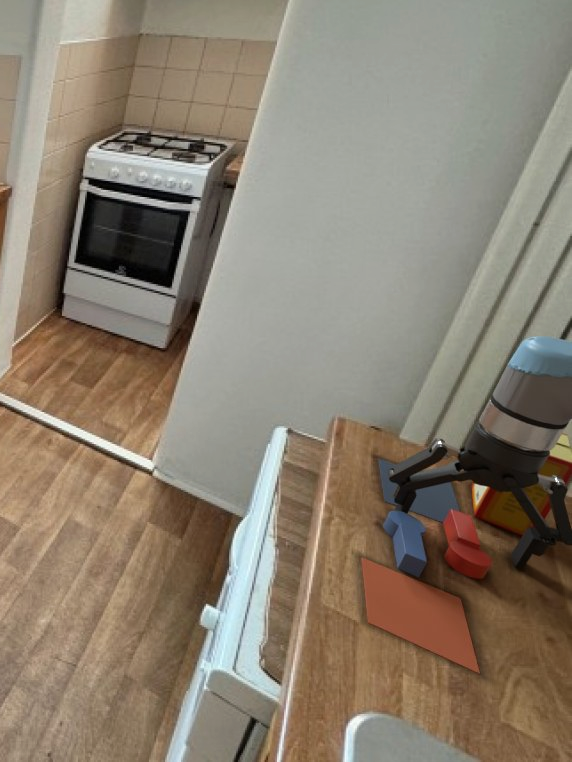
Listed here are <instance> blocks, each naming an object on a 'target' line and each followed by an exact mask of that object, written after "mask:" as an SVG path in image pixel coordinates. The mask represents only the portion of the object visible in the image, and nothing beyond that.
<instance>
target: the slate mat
mask: <svg viewBox="0 0 572 762" xmlns="http://www.w3.org/2000/svg"><path fill="white" fill-rule="evenodd" d="M377 462H378V469H379V475H380V481H381V487H382V493H383V500H384V502H385V503H388V504H390V505H393V506H395V507H397V505H398V504H397V503H395V501H394V496H393V494H394V492H395V490H396V488H397V486H398V484H396V483H393V482H391V481H390V480H389V476H388V469H389V468H390V467H392V466H394V465H396V464H397V463H393V462H390V461H387V460H384V459H381V458H377ZM415 491H416V495H417V496H416V498H415V500H414V502H413V504H412V506H411V508H410V509H409V511H408V512H412V513H413V514H417V515H420V516H423V517H425V518H427V519H431V520H434V521H436V522H439V523H442V524H443V523H444V521H445V519H446V517H447V515H448V513H449V512H450V510H451V509H453V510H456V511H458V512H461V509H460V507H459V504H458V500H457V497H456V494H455V490H454V488H453V484H452V482H448V483H444V484H440V485H435V486H431V487H426V488H422V489H418V490H415Z"/></svg>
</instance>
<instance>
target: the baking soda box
mask: <svg viewBox="0 0 572 762" xmlns="http://www.w3.org/2000/svg"><path fill="white" fill-rule="evenodd" d="M549 451H550V455H549V456H548V458H547V460H546V461H545V463H544V465H543V466H542V468H541V470H540V471H539V472H538V474H539V475H543V476H547V477H550V476H552V475H557V476H560V477H561V478H562V479H563V481H564V483H565V485H566V486H567V483H568V481H569V480H570V478H571V477H572V445H571V442H570V439H569V436H568V434H567V433H564V432H563V433H562V435H561V436H560V438H559V440H558V442H557V443H556V445H555V447H554V448H553V449H552V450H549ZM470 488H471V498H472V508H473V516H474V518H477V519H479V520H482V521H484V522H487V523H489V524H492V525H494V526H497V527H498V528H501V529H504V530H507V531H510V532H511V533H514V534H517V535H518V536H519V535H520V536H521V537H522V536H523V534H524V533H525V531H526V529H527V528H528V526H530V527H533V528H535V527H534V525H533V524H532V522H531V521H530V519H529V517H528V516H527V514H526V513H525V511H524V510H523V508H522V507H521V505H520V504H519V502H518V501H517V500H516V499H515V497H514V495H513V494H512V492H502V493H501V492H498V491H495V490H493V489H492V488H490V487H487V486H481V485H478V484H475V483H473V482H472V483H471V485H470ZM524 490H525V491H526V493H527V495H528V496H529V498H530V499H531V501H532V502H533V504H534V505H535V507H536V508H537V510H538V511H539V513H540V514H541V516H542V517H543V519H544V520H545V519H546V518H547V516H548V515H549V513H550V511H551V510H552V509H551V505H550V501H549V497H548V494H547V492H545V491H544V490H543V488H542V486H541V485H540V484H538V483H537V484H536V485H533V486H529V487H525V488H524ZM535 529H536V528H535Z"/></svg>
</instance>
